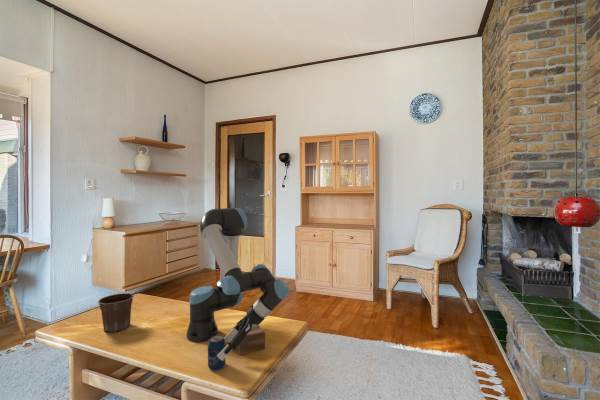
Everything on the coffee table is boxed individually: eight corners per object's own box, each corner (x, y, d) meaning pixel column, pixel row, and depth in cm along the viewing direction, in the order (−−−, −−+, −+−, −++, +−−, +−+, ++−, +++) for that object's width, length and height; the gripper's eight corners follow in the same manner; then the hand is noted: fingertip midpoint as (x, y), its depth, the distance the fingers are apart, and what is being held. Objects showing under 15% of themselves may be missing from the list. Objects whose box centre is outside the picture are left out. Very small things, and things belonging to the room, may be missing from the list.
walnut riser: (232, 343, 143) (232, 326, 143) (256, 337, 149) (255, 321, 148) (239, 355, 132) (239, 337, 132) (265, 348, 138) (264, 331, 138)
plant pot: (96, 327, 161) (96, 297, 161) (130, 318, 172) (129, 290, 172) (101, 337, 149) (100, 306, 149) (137, 328, 160) (136, 298, 159)
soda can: (204, 370, 121) (204, 341, 121) (213, 361, 128) (212, 333, 127) (220, 372, 119) (220, 343, 119) (228, 363, 126) (227, 335, 126)
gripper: (263, 331, 111) (223, 373, 110) (266, 306, 136) (234, 340, 135) (249, 317, 110) (208, 359, 110) (255, 294, 135) (222, 329, 135)
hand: (222, 349), depth 123 cm, fingers open, 13 cm apart
